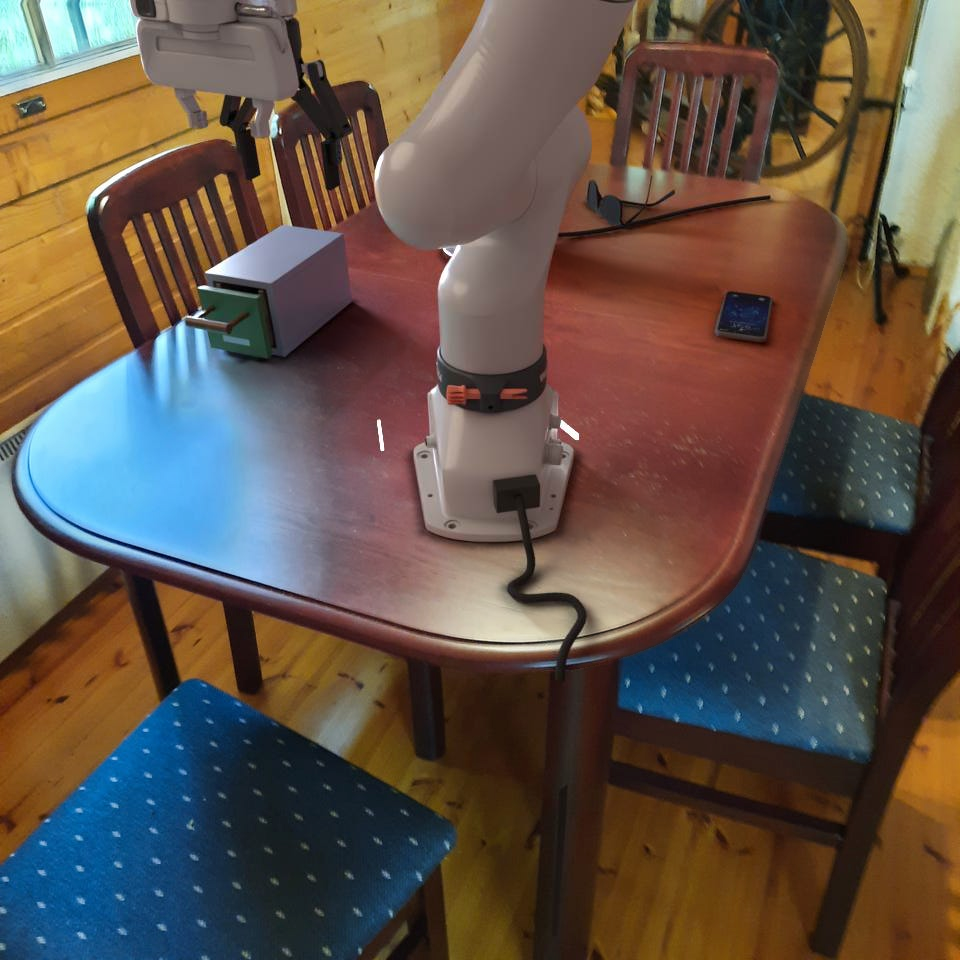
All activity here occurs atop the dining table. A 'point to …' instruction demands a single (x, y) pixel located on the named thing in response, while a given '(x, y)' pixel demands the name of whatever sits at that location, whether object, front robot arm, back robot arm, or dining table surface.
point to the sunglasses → (615, 204)
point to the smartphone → (744, 316)
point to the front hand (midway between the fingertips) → (229, 132)
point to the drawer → (235, 319)
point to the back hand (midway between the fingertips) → (292, 182)
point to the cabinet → (292, 279)
